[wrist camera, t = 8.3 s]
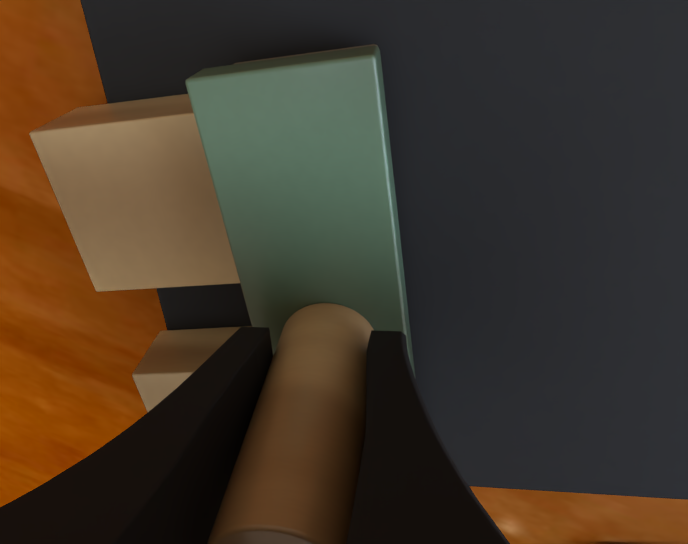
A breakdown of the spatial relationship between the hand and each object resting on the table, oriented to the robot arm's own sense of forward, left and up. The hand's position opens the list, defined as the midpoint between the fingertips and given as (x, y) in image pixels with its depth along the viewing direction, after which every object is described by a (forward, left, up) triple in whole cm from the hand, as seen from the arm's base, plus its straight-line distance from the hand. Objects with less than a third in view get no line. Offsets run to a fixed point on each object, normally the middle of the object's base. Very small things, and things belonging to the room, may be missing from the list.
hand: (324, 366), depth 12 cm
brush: (0, 0, -3) cm, 3 cm away
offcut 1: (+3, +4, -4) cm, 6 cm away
